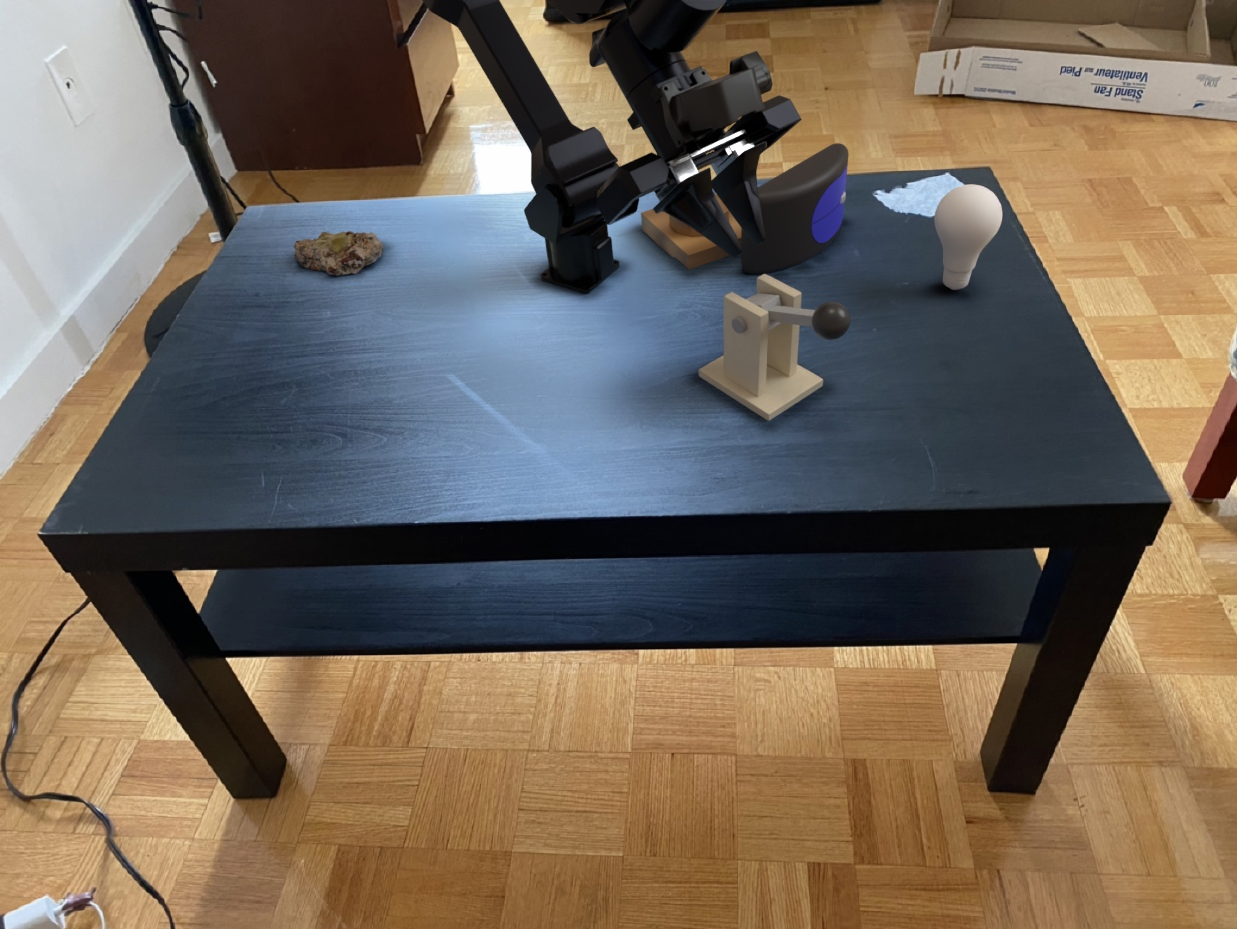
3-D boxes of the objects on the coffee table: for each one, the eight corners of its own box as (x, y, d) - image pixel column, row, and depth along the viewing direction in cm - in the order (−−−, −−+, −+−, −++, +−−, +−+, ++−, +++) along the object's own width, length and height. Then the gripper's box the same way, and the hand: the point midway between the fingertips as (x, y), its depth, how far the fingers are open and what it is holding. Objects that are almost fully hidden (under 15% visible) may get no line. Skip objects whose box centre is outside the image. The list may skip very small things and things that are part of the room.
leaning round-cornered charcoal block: (770, 290, 99) (773, 207, 92) (736, 275, 101) (737, 193, 95) (864, 228, 106) (873, 147, 100) (830, 215, 109) (837, 136, 102)
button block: (641, 229, 110) (639, 198, 107) (709, 208, 112) (709, 176, 110) (688, 273, 102) (687, 240, 100) (760, 248, 105) (761, 216, 102)
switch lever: (861, 332, 76) (854, 297, 75) (835, 348, 75) (828, 313, 73) (766, 319, 85) (759, 287, 83) (742, 333, 83) (734, 301, 82)
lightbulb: (987, 275, 98) (1010, 175, 90) (983, 308, 94) (1006, 207, 86) (926, 269, 99) (942, 170, 92) (919, 301, 95) (936, 200, 88)
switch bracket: (822, 389, 87) (830, 298, 80) (768, 424, 84) (772, 333, 77) (751, 347, 92) (753, 259, 85) (698, 379, 89) (696, 290, 82)
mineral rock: (391, 219, 111) (366, 237, 104) (398, 256, 113) (374, 276, 106) (305, 224, 113) (275, 241, 106) (313, 260, 115) (284, 279, 108)
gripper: (606, 63, 67) (715, 257, 68) (790, -8, 75) (886, 167, 76) (553, 138, 77) (649, 306, 78) (721, 68, 85) (806, 222, 86)
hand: (750, 249), depth 79 cm, fingers closed
